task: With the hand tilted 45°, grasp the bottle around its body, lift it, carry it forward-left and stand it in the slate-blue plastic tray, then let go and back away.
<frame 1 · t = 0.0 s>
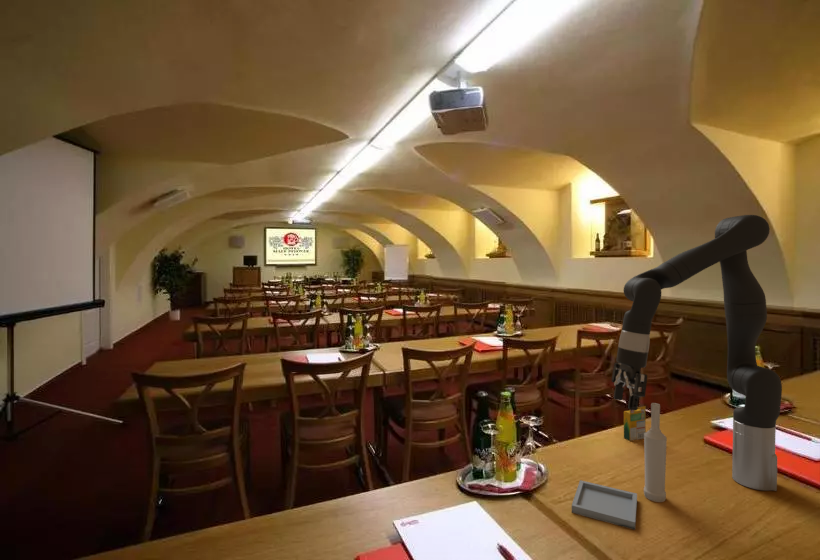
hand: (624, 404, 117), 22 cm above the table, tool pointing down, fingers open, 8 cm apart
tray: (605, 506, 106), on the table
bottle: (654, 497, 110), on the table
crayon box: (634, 438, 148), on the table
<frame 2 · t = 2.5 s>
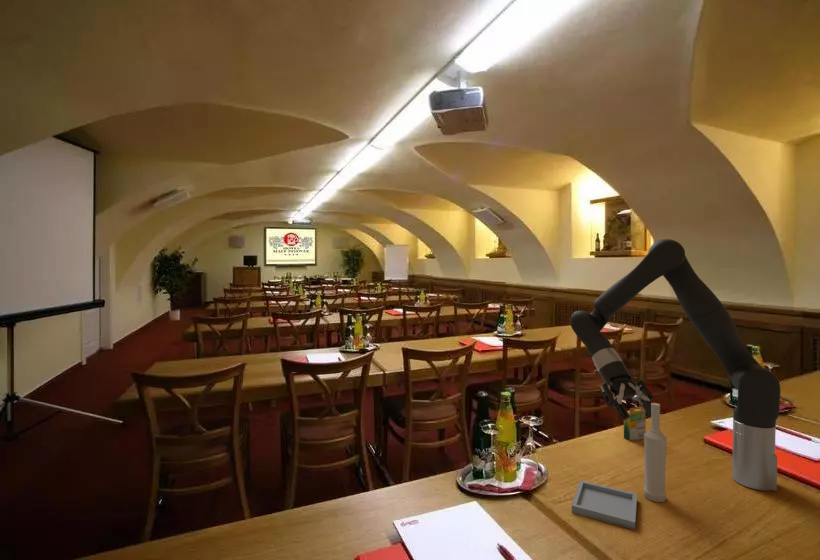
hand: (639, 417, 115), 20 cm above the table, tool tilted 45°, fingers open, 8 cm apart
nothing on the table moved.
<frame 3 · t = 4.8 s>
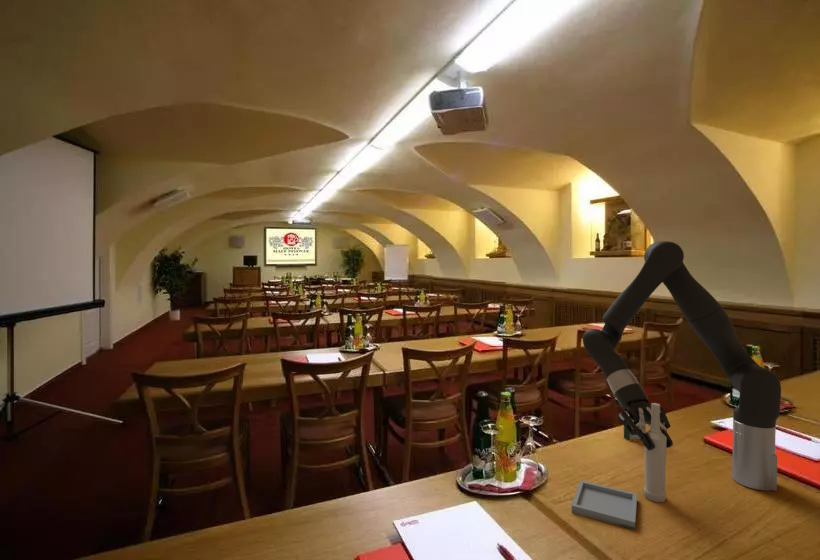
hand: (661, 447, 108), 14 cm above the table, tool tilted 45°, fingers closed on bottle, 5 cm apart
bottle: (654, 497, 110), on the table, touching gripper
everything else where it was.
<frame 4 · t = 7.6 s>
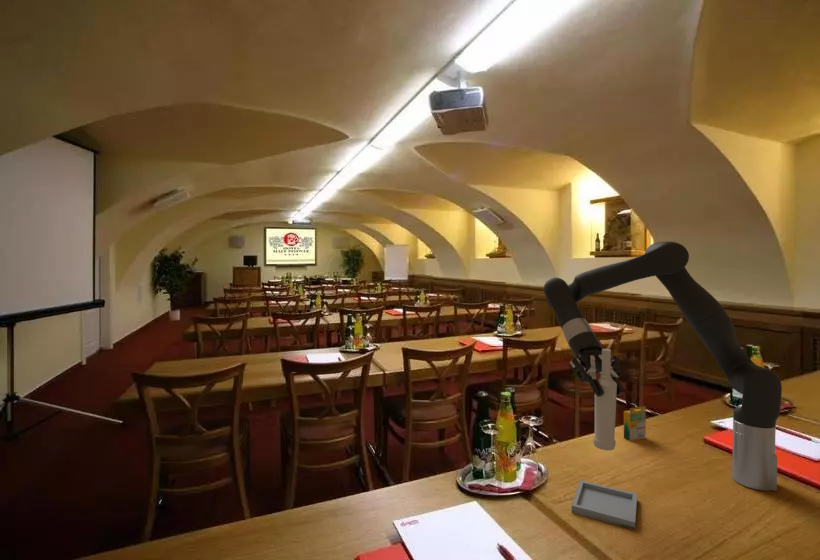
hand: (610, 394, 104), 30 cm above the table, tool tilted 45°, fingers closed on bottle, 5 cm apart
bottle: (604, 447, 106), point 15 cm above the table, touching gripper
everything else where it was.
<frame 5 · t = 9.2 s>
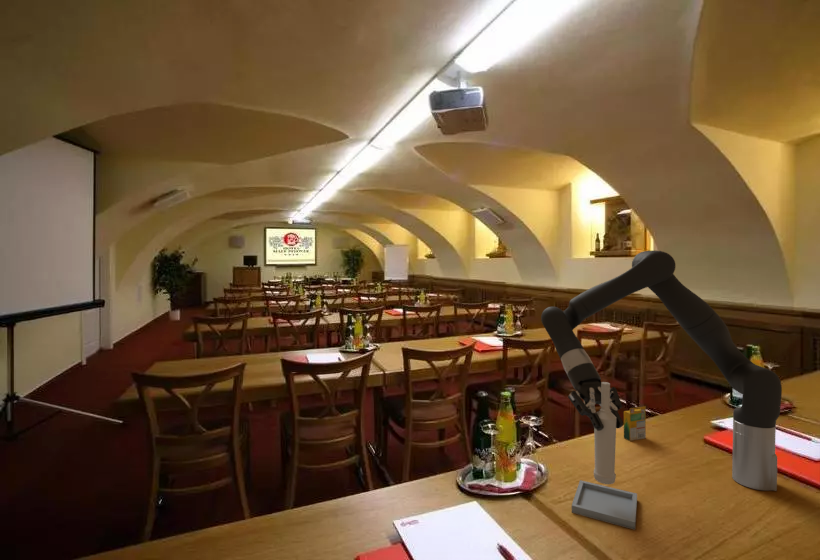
hand: (610, 427, 104), 21 cm above the table, tool tilted 45°, fingers closed on bottle, 5 cm apart
bottle: (604, 480, 106), point 7 cm above the table, touching gripper
everything else where it was.
when the fingers open (15 cm above the table, at t = 10.7 s): bottle stays where it is, resting on tray.
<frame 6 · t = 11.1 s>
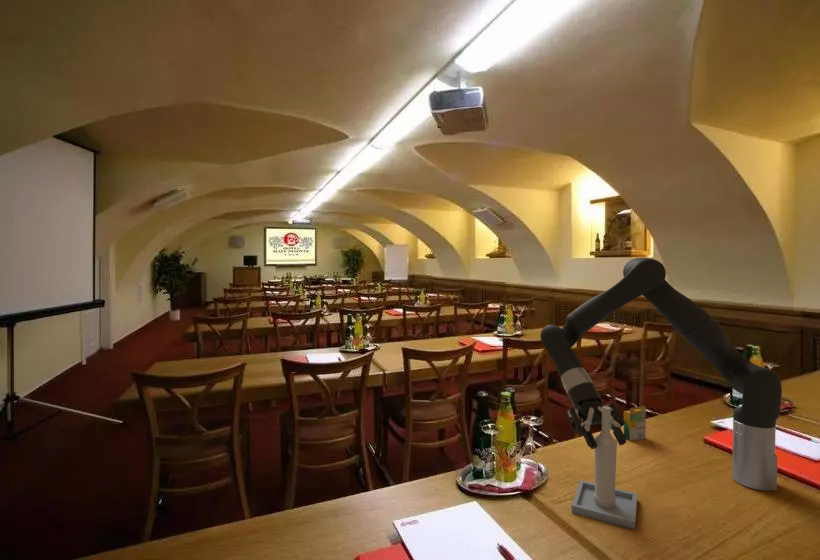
hand: (609, 446, 104), 16 cm above the table, tool tilted 45°, fingers open, 8 cm apart
bottle: (604, 503, 107), resting on tray
everything else where it was.
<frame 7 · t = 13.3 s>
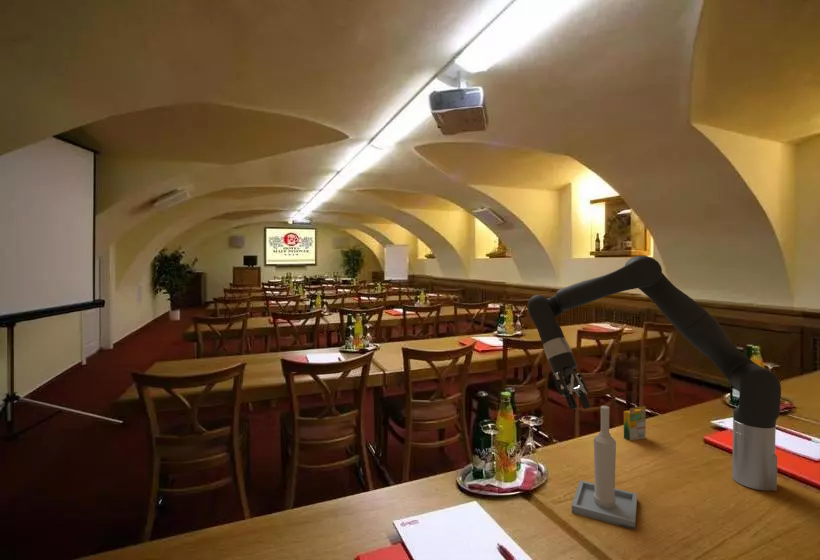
hand: (581, 408, 120), 20 cm above the table, tool tilted 35°, fingers open, 8 cm apart
nothing on the table moved.
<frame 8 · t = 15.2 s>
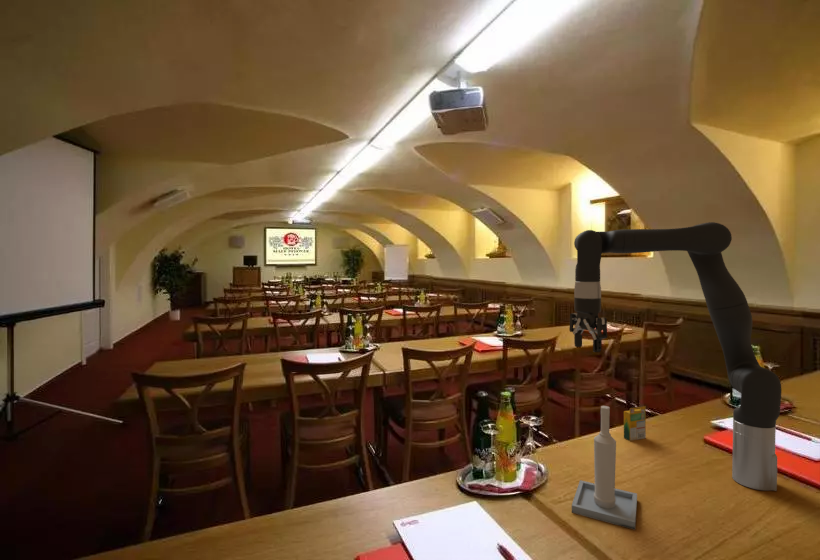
hand: (587, 349, 127), 36 cm above the table, tool pointing down, fingers open, 8 cm apart
nothing on the table moved.
at the end: bottle inside the target area on the tray (0.4 cm from its centre), point 0.4 cm above the tray's base; bottle tilted 0°; the gripper is holding nothing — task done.
